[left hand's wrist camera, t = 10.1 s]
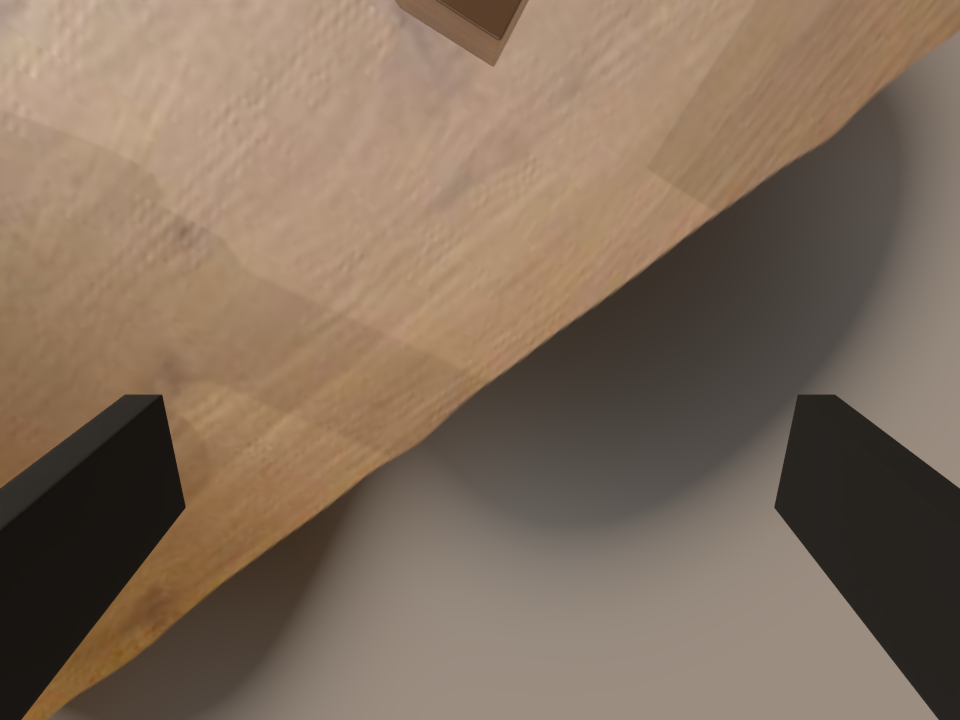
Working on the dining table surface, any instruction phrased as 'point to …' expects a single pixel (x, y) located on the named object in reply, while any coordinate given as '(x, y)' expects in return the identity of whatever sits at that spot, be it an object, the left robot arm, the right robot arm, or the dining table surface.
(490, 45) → the bar
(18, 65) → the dining table surface
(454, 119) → the dining table surface
